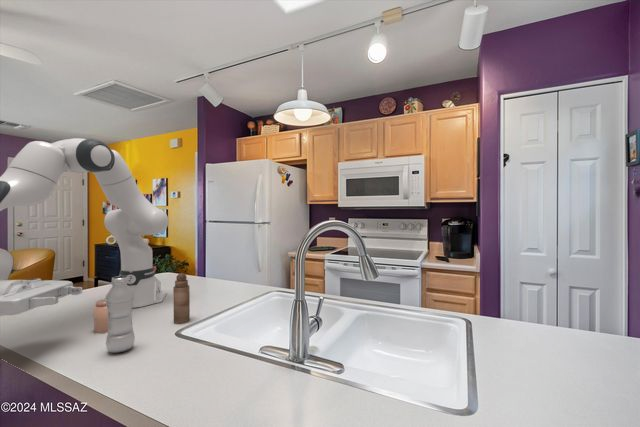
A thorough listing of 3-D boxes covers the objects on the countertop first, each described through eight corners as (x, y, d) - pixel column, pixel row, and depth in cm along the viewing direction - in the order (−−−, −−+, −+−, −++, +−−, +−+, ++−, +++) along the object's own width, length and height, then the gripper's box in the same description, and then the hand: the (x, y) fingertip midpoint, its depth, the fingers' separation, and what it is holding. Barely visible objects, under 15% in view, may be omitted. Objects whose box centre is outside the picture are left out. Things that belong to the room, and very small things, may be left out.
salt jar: (100, 327, 98) (100, 299, 98) (118, 326, 99) (118, 298, 99) (89, 334, 92) (89, 304, 92) (109, 332, 93) (109, 303, 93)
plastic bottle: (121, 357, 78) (120, 280, 77) (99, 354, 79) (98, 279, 79) (140, 346, 84) (140, 275, 84) (120, 344, 85) (119, 274, 85)
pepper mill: (176, 319, 105) (176, 271, 105) (191, 318, 106) (191, 271, 105) (171, 324, 100) (171, 274, 100) (187, 323, 101) (187, 274, 100)
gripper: (-32, 295, 67) (39, 293, 69) (39, 277, 87) (92, 275, 89) (-32, 324, 67) (38, 321, 69) (39, 299, 87) (92, 297, 89)
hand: (69, 295), depth 79 cm, fingers open, 8 cm apart
